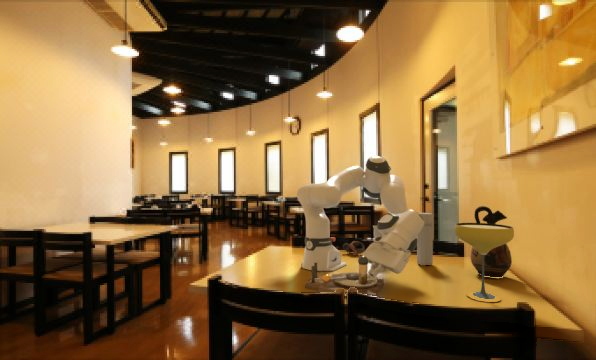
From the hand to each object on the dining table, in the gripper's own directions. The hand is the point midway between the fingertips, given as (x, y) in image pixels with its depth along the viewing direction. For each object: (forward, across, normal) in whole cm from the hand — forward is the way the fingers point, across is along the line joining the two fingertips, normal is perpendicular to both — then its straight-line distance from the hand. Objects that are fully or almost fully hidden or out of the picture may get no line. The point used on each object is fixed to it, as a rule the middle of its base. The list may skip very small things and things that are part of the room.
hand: (371, 275), depth 124 cm
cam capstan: (+7, +6, +1) cm, 9 cm away
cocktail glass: (-19, -18, -28) cm, 39 cm away
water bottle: (-31, +27, -40) cm, 58 cm away
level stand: (+9, +9, 0) cm, 12 cm away
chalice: (-18, +39, -27) cm, 50 cm away
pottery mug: (-16, +60, -26) cm, 68 cm away
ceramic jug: (-38, +1, -48) cm, 61 cm away
